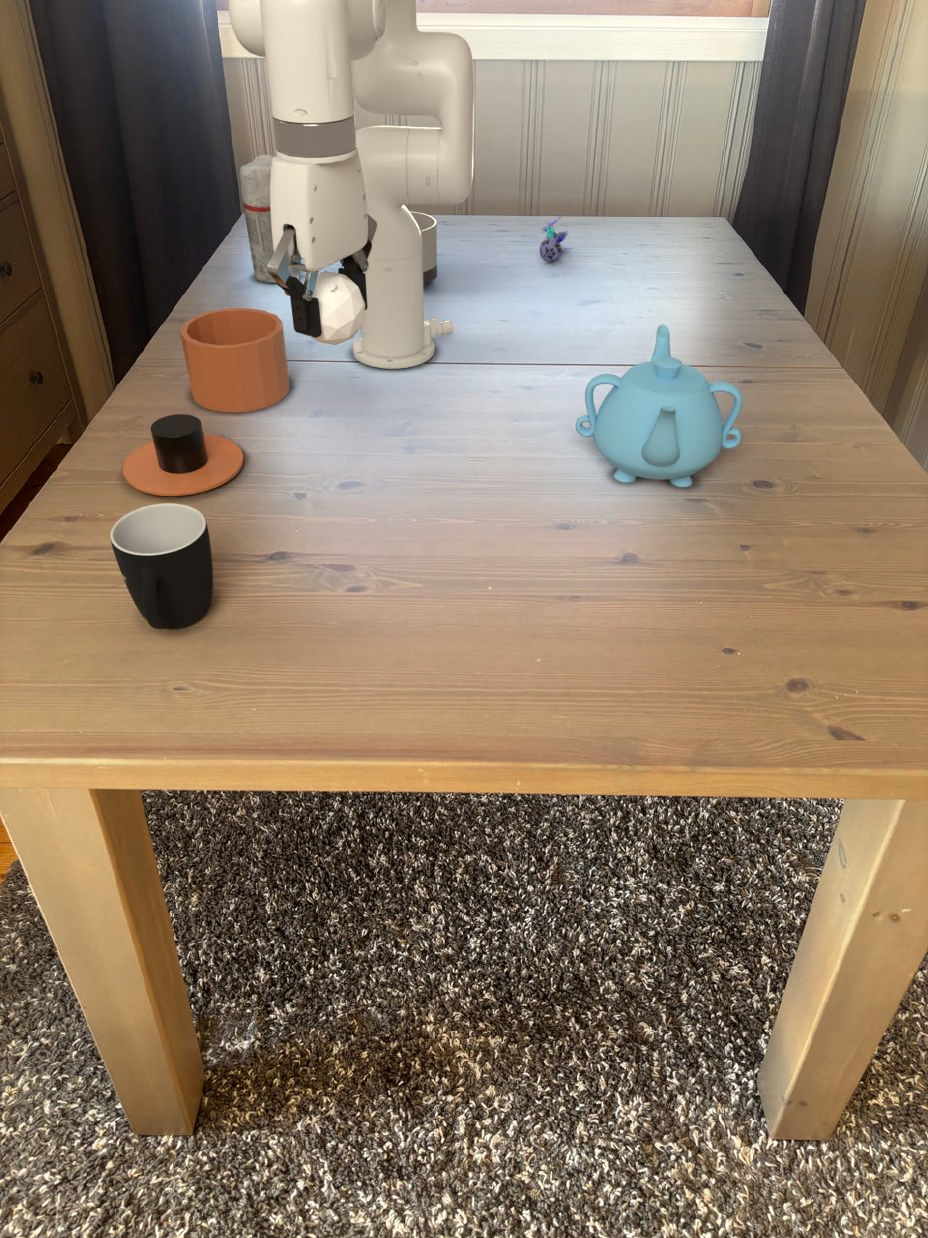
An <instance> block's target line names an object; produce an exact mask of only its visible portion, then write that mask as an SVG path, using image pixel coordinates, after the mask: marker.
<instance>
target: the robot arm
mask: <svg viewBox="0 0 928 1238" xmlns="http://www.w3.org/2000/svg"><path fill="white" fill-rule="evenodd" d="M228 15H229V20H230V25H231V28H232V32H233V34H234V35H235V38H236V40H237V41H238V43H239V44H240V46H242V48H243V49H245V50H246V51H247V52H248V53H250V54H251V55H255V56H258V57H261V58H265V63H266V73H267V80H268V89H269V99H270V108H271V117H272V126H273V134H274V143H275V151H276V156H273V157H274V158H272V165H271V179H270V210H271V227H272V239H273V249H274V254H273V256H272V258H271V260H270V262H269V264H268V266H267V271H268V273H269V274H270V275H271V276H272V277H273V278H274V280H275V281H276V282H277V283H276V284H277V286H278V287H279V288H281V289H282V290H283V291H284V295H286V296H289V299H290V307H291V315H292V317H291V318H292V325H293V330H294V332H296V333H297V334H300V335H305V336H308V337H311V338H312V337H315V338H317V337H319V336H321V333H322V331H321V321H320V310H319V301H318V298H315V297H313V295H314V291H315V286H316V281H317V276H318V274H319V271H321V270H324V269H325V268H327V267H329V266H331V265H334V264H336V263H338V262H339V263H340V265H341V267H339V268H337V271H338V272H337V273H339V274H344V275H346V276H347V277H348V278H349V279H350V280H351V281H352V282H354V283H355V284H356V285H357V286H358V287H359V290H360V292H361V295H362V297H363V300H364V302H365V312H364V321H363V325H362V326H361V336H360V337H359V338H357V339H356V340H355V341H354V343H353V344H352V354H353V357H354V359H355V360H357V361H358V362H360V363H361V364H364V365H365V366H369V367H373V368H378V369H386V370H389V369H391V370H398V369H399V370H400V369H407V368H408V369H409V368H414V367H416V366H419V365H422V364H425V363H426V362H428V361H430V359H431V358H432V357H433V356H434V355H435V343H434V341H433V340H434V339H436V337H437V336H444V335H450V334H453V333H454V324H453V322H452V321H451V320H446V321H441V322H439V321H438V319H437V318H436V317H435V318H429V319H425V303H424V301H425V300H424V297H425V296H424V286H423V245H422V235H421V231H420V229H419V226H418V224H417V222H416V221H415V219H414V218H413V216H412V215H411V213H410V212H411V211H409V209H408V207H406V206H411V205H418V206H419V205H422V206H455V205H460V204H462V203H464V202H465V201H466V200H467V199H468V197H469V196H470V194H471V190H472V186H473V185H472V184H473V179H474V178H473V177H474V139H475V138H474V135H475V133H474V132H475V68H474V60H473V54H472V50H471V47H470V45H469V43H468V42H467V40H466V39H465V38H464V37H463V36H461V35H459V34H457V33H453V32H447V31H420V30H419V28H418V23H417V21H418V20H417V0H228ZM354 97H355V98H354ZM355 100H356V102H357V104H358V105H359V106H360V108H361V109H363V110H364V111H366V112H369V113H373V114H379V115H391V116H392V115H393V116H419V117H420V116H423V117H424V116H425V117H427V116H428V117H433V118H435V119H436V120H438V123H439V124H440V127H424V126H422V127H420V126H419V127H418V126H407V125H405V126H404V125H403V126H401V125H372V126H366V127H362V128H360V129H357V130H356V118H355V117H356V116H355V115H356V114H355ZM302 259H303V260H304V263H302ZM301 272H304V273H305V277H304V282H302V281H301V280H300V279H299V278H300V274H301Z"/></svg>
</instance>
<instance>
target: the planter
mask: <svg viewBox="0 0 928 1238" xmlns="http://www.w3.org/2000/svg"><path fill="white" fill-rule="evenodd" d="M409 212H410V213H411V215H412V216H413V218H414V219H415V221H416V222H417V224H418V226H419V229H420V231H421V235H422V245H423V287H424V286H426V285H429V284H431V283H432V282H434V281H435V280H436V279H437V277H438V238H437V236H438V233H437V232H438V231H437V228H438V227H437V226H438V225H437V223H438V222H437V220H436V218H434V217H433V216H431V215H429V214H426V213H422V212H416V211H409Z"/></svg>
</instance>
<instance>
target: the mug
mask: <svg viewBox="0 0 928 1238" xmlns="http://www.w3.org/2000/svg"><path fill="white" fill-rule="evenodd" d="M109 538H110V544H111V548H112V551H113V554H114V557H115V560H116V563H117V566H118V568H119V571H120V573H121V576H122V578H123V581H124V584H125V586H126V589H127V591H128V593H129V595H130V597H131V599H132V601H133V603H134V604H135V606H136V608H137V611H138V612H139V614H140V615H141V616H142V617H143V618H144V619H145V620H146V621H147V624H148V625H149V626H150V627H151V628H153V629H155V630H163V629H164V630H180V629H185V628H188V627H190V626H193V625H195V624H197V623H198V622H200V621H201V620H202V619H203V618H204V617H205V616H206V615H207V614H208V612H209V610H210V608H211V606H212V602H213V596H214V566H213V554H212V546H211V540H210V531H209V527H208V524H207V519H206V517H205V516H204V513H202V512H201V511H200V510H198V509H196V508H195V507H193V506H190V505H186V504H183V503H173V502H167V503H165V502H163V503H155V504H149V505H146V506H142V507H139V508H137V509H136V508H135V509H134V510H132V511H130V512H128V513H126V514H125V515H123V516H122V517H120V518H119V519H118V520H116V522H115V523H114V524H113V526H112V527H111V529H110V535H109Z"/></svg>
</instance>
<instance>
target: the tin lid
mask: <svg viewBox="0 0 928 1238" xmlns="http://www.w3.org/2000/svg"><path fill="white" fill-rule="evenodd" d="M150 425H151V426H150V433H151V437H152V441H150V442H147V443H146V444H143V445H142V446H140V447H139V448H136V449H135V450H134V451H133V452H131V453H130V454H129V455H128V456H127V457H126V459H125V461H124V463H123V466H122V474H123V478H124V480H125V481H126V483H127V484H128V485H129V486H130V487H132V488H133V489H135V490H137V491H139V492H142V493H145V494H148V495H153V496H163V497H180V496H188V495H195V494H200V493H204V492H207V491H210V490H212V489H216V488H218V487H220V486H222V485H224V484H225V483H227V482H229V481H230V480H232V479H233V478H234V477H236V476H237V474H238V473H239V472H240V471H241V469H242V468H243V464H244V454H243V452H242V450H241V448H240V446H239V445H238V444H236V443H235V442H234V441H232V440H230V439H228V438H225V437H223V436H219V435H214V434H210V433H209V434H208V433H204V429H203V425H202V420H201V419H200V418H199V417H197V416H195V415H192V414H187V413H177V414H175V413H174V414H169V415H166V416H163V417H160V418H158V419H156V420H155V421H154V422H153V423H152V424H150Z"/></svg>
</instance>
